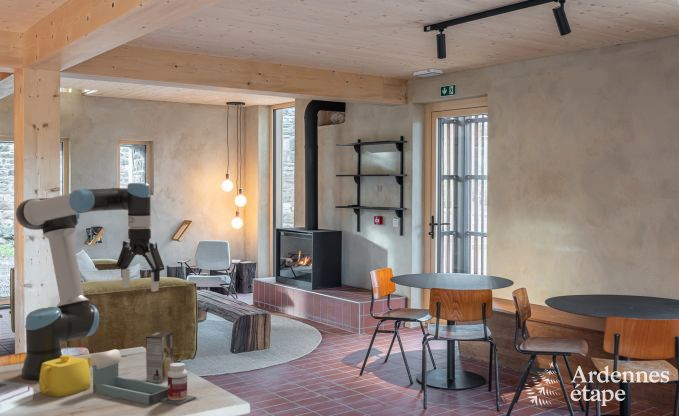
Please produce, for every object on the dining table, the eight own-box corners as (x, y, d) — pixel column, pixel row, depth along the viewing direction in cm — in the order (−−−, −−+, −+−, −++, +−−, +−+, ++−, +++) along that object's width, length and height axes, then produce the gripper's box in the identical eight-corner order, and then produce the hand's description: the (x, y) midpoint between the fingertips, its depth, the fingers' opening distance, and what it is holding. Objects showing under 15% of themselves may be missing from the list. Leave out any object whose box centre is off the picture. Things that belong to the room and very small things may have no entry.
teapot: (80, 379, 258) (80, 346, 258) (104, 385, 252) (103, 351, 251) (29, 394, 242) (29, 358, 241) (53, 400, 235) (52, 364, 234)
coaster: (159, 401, 234) (159, 399, 234) (177, 394, 241) (177, 392, 241) (178, 405, 230) (178, 403, 230) (195, 398, 237) (195, 396, 237)
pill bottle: (169, 395, 238) (168, 362, 238) (188, 394, 239) (188, 361, 238) (166, 401, 232) (166, 367, 231) (186, 400, 233) (186, 366, 232)
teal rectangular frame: (89, 391, 244) (88, 354, 244) (112, 383, 253) (111, 348, 252) (150, 404, 231) (150, 365, 230) (172, 396, 239) (172, 358, 238)
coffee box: (157, 374, 265) (157, 330, 264) (174, 375, 263) (173, 331, 262) (145, 381, 256) (145, 336, 255) (163, 382, 254) (162, 337, 253)
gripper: (105, 227, 254) (106, 287, 256) (158, 230, 242) (159, 293, 243) (121, 225, 261) (122, 284, 262) (174, 228, 248) (175, 290, 250)
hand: (140, 289), depth 253 cm, fingers open, 13 cm apart
